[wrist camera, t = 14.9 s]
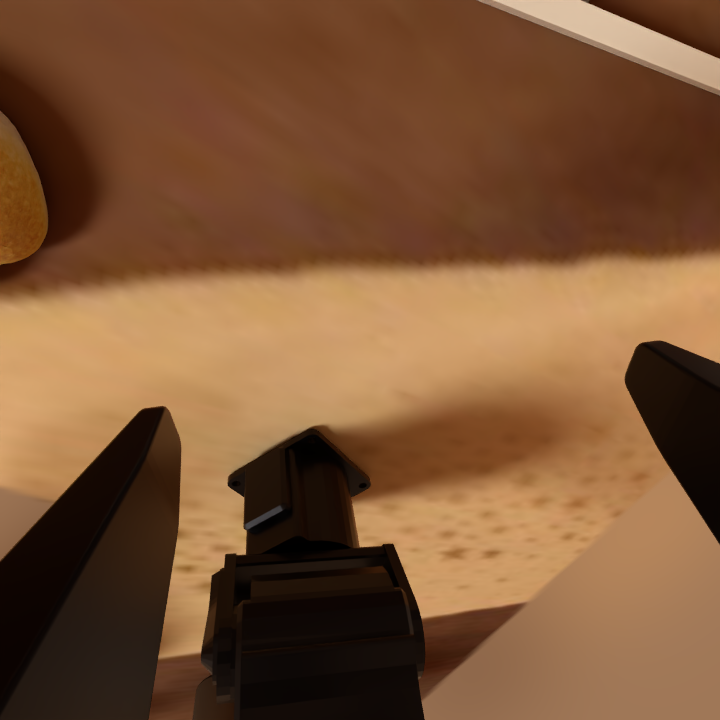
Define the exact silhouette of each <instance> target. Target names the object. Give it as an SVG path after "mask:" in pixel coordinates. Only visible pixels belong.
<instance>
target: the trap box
mask: <svg viewBox="0 0 720 720" xmlns="http://www.w3.org/2000/svg"><path fill="white" fill-rule="evenodd" d="M478 1H480V2H483V3H485V4H488V5H490V6H493V7H495V8H498V9H501V10H503V11H506V12H508V13H511V14H513V15H516V16H518V17H521V18H523V19H526V20H529V21H531V22H534V23H536V24H539V25H541V26H544V27H546V28H549V29H551V30H554V31H557V32H559V33H562V34H564V35H567V36H569V37H572V38H574V39H577V40H579V41H582V42H585V43H587V44H590V45H592V46H595V47H597V48H600V49H602V50H605V51H607V52H610V53H613V54H615V55H618V56H620V57H623V58H625V59H628V60H630V61H633V62H635V63H638V64H640V65H643V66H646V67H648V68H651V69H653V70H656V71H658V72H661V73H663V74H666V75H668V76H671V77H674V78H676V79H679V80H681V81H684V82H686V83H689V84H691V85H694V86H696V87H699V88H702V89H704V90H707V91H709V92H712V93H714V94H717V95H719V96H720V59H719V58H716V57H714V56H711V55H709V54H707V53H704V52H702V51H700V50H697V49H695V48H693V47H690V46H688V45H685V44H683V43H681V42H678V41H676V40H674V39H671V38H669V37H667V36H664V35H662V34H659V33H657V32H655V31H652V30H650V29H648V28H645V27H643V26H641V25H638V24H636V23H633V22H631V21H629V20H626V19H624V18H622V17H619V16H617V15H615V14H612V13H610V12H607V11H605V10H603V9H600V8H598V7H596V6H593V5H591V4H589V3H588V2H589V0H478Z"/></svg>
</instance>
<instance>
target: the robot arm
mask: <svg viewBox="0 0 720 720" xmlns="http://www.w3.org/2000/svg"><path fill="white" fill-rule="evenodd" d="M625 384H626V387H627V389H628V391H629V393H630V395H631V397H632V399H633V401H634V403H635V405H636V407H637V409H638V411H639V413H640V415H641V417H642V419H643V421H644V423H645V424H646V426H647V428H648V430H649V432H650V434H651V436H652V438H653V440H654V442H655V444H656V446H657V448H658V449H659V451H660V453H661V454H662V456H663V458H664V459H665V461H666V463H667V464H668V466H669V467H670V469H671V470H672V472H673V473H674V475H675V476H676V478H677V479H678V481H679V482H680V484H681V486H682V487H683V489H684V490H685V492H686V493H687V495H688V496H689V498H690V499H691V501H692V502H693V504H694V506H695V507H696V509H697V510H698V512H699V513H700V515H701V516H702V518H703V519H704V521H705V523H706V524H707V526H708V527H709V529H710V530H711V532H712V533H713V535H714V536H715V538H716V540H717V541H718V543H719V544H720V364H719V363H716V362H714V361H711V360H709V359H706V358H704V357H702V356H699V355H697V354H694V353H692V352H689V351H687V350H684V349H682V348H679V347H677V346H674V345H672V344H669V343H667V342H664V341H651V342H643V343H641V344H639V345H638V346H637V347H636V349H635V351H634V353H633V356H632V358H631V361H630V363H629V366H628V369H627V371H626V374H625ZM311 437H312V439H311ZM180 474H181V441H180V437H179V434H178V432H177V429H176V427H175V424H174V422H173V419H172V416H171V414H170V412H169V410H168V409H167V407H164V406H159V407H151V408H145V409H142V410H141V411H139V412H138V413H137V414H136V416H135V417H134V418H133V419H132V420H131V421H130V422H129V423H128V424H127V425H126V426H125V427H124V428H123V430H122V431H121V432H120V433H119V434H118V435H117V436H116V437H115V438H114V439H113V440H112V441H111V442H110V443H109V445H108V446H107V447H106V448H105V449H104V450H103V451H102V452H101V453H100V454H99V455H98V456H97V457H96V459H95V460H94V461H93V462H92V463H91V464H90V465H89V466H88V467H87V468H86V469H85V470H84V471H83V472H82V474H81V475H80V476H79V477H78V478H77V479H76V480H75V481H74V482H73V483H72V484H71V485H70V486H69V487H68V489H67V490H66V491H65V492H64V493H63V494H62V495H61V496H60V497H59V498H58V499H57V500H56V501H55V503H54V504H53V505H52V506H51V507H50V508H49V509H48V510H47V511H46V512H45V513H44V514H43V515H42V517H41V518H40V519H39V520H38V521H37V522H36V523H35V524H34V525H33V526H32V527H31V528H30V529H29V530H28V532H27V533H26V534H25V535H24V536H23V537H22V538H21V539H20V540H19V541H18V542H17V543H16V544H15V546H14V547H13V548H12V549H11V550H10V551H9V552H8V553H7V554H6V555H5V556H4V557H3V558H2V559H1V561H0V720H148V718H149V712H150V705H151V699H152V693H153V686H154V680H155V674H156V667H157V661H158V655H159V648H160V642H161V636H162V629H163V623H164V617H165V610H166V604H167V598H168V591H169V585H170V579H171V572H172V566H173V560H174V554H175V547H176V541H177V533H178V525H179V503H180ZM228 486H229V487H230V488H231V489H233V490H234V491H236V492H237V493H239V494H240V495H242V496H243V497H244V526H243V527H244V529H245V530H247V537H246V555H236V553H234V554H226V555H225V565H224V568H222V569H220V571H219V572H217V573H215V574H214V575H212V580H211V592H210V603H209V611H208V617H207V622H206V628H205V633H204V639H203V644H202V651H201V663H202V665H203V666H204V667H205V668H206V669H207V670H208V671H209V672H210V673H211V674H212V683H213V685H216V700H217V704H225V703H234V720H425V719H424V714H423V708H422V702H421V696H420V690H419V682H418V679H420V678H421V677H422V674H423V671H424V664H425V641H424V632H423V626H422V620H421V616H420V612H419V608H418V605H417V602H416V599H415V597H414V594H413V592H412V589H411V587H410V584H409V582H408V579H407V577H406V574H405V572H404V569H403V567H402V564H401V562H400V559H399V557H398V554H397V552H396V549H395V547H394V545H393V544H383V545H382V546H375V547H360V546H359V541H358V535H357V529H356V523H355V517H354V511H353V505H352V500H351V497H353V496H355V495H357V494H359V493H361V492H363V491H364V490H366V489H368V488H369V487H370V479H369V477H368V476H367V475H366V474H365V473H363V472H362V471H361V470H360V469H359V468H358V467H357V466H356V465H355V464H354V463H353V462H351V461H350V460H349V459H348V458H347V457H346V456H345V455H344V454H343V453H342V452H341V451H339V450H338V449H337V448H336V447H335V446H334V445H333V444H332V443H331V442H330V441H329V440H327V439H326V438H325V437H324V436H323V435H322V434H321V433H320V432H319V431H317V430H314V429H310V430H307V431H305V432H303V433H302V434H300V435H298V436H296V437H295V438H293V439H291V440H289V441H288V442H286V443H284V444H283V445H281V446H279V447H277V448H276V449H274V450H272V451H270V452H269V453H267V454H265V455H263V456H262V457H260V458H258V459H257V460H255V461H253V462H251V463H250V464H248V465H246V466H244V467H243V468H241V469H239V470H237V471H236V472H234V473H232V474H231V475H229V477H228Z"/></svg>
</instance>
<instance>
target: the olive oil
mask: <svg viewBox="0 0 720 720" xmlns="http://www.w3.org/2000/svg"><path fill="white" fill-rule="evenodd" d="M193 720H234V703H225V704H217V700H216V685H213V683H212V676H210V677H208V678H207V679H205V680H204V681H203V682H202V683H201V684H200V685H199V686H198V688H197V690H196V695H195V703H194V712H193Z"/></svg>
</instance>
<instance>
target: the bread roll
mask: <svg viewBox="0 0 720 720" xmlns="http://www.w3.org/2000/svg"><path fill="white" fill-rule="evenodd" d="M47 231H48V211H47V206H46V201H45V197H44V193H43V189H42V185H41V182H40V178H39V175H38V172H37V170H36V168H35V166H34V163H33V161H32V159H31V156H30V154H29V152H28V150H27V147H26V145H25V144H24V142H23V140H22V139H21V136H20V134H19V133H18V131H17V129H16V128H15V126H14V125H13V124H12V123H11V121H10V120H9V119H8V118H7V117H6V116H5V115H4V114H3V113H2V112H1V111H0V265H1V264H6V263H13V262H16V261H19V260H22V259H25V258H27V257H28V256H30V255H31V254H33V253H34V252H35V251H37V250H38V249H39V248H40V246H41V244H42V242H43V240H44V239H45V236H46V233H47Z"/></svg>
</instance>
